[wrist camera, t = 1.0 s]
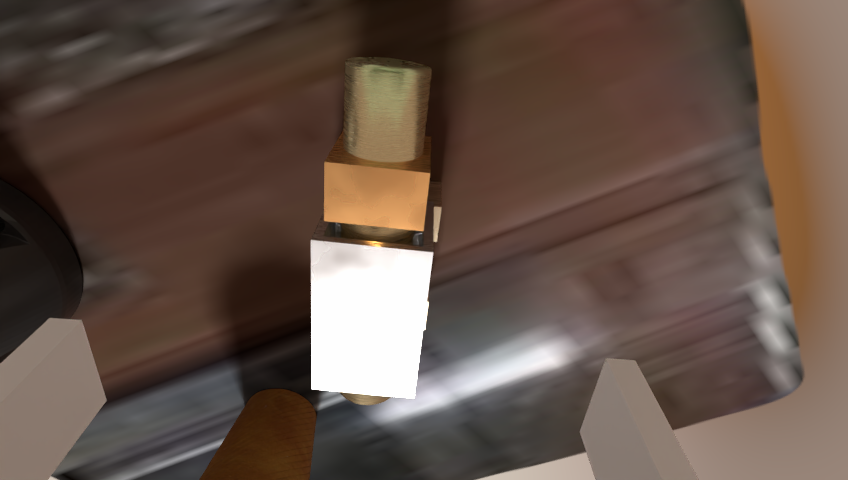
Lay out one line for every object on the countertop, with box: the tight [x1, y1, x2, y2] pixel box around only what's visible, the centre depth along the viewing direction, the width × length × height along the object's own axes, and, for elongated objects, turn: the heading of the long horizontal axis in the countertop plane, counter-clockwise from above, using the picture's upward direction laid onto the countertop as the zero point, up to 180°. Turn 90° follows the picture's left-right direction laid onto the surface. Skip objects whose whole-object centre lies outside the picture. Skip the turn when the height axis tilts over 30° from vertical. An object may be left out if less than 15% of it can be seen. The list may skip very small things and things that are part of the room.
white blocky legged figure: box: [311, 181, 442, 398], centre depth 31 cm, size 7×10×10 cm
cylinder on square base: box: [324, 57, 432, 405], centre depth 28 cm, size 5×20×6 cm, turn 174°
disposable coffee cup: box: [199, 389, 316, 480], centre depth 39 cm, size 10×10×12 cm
